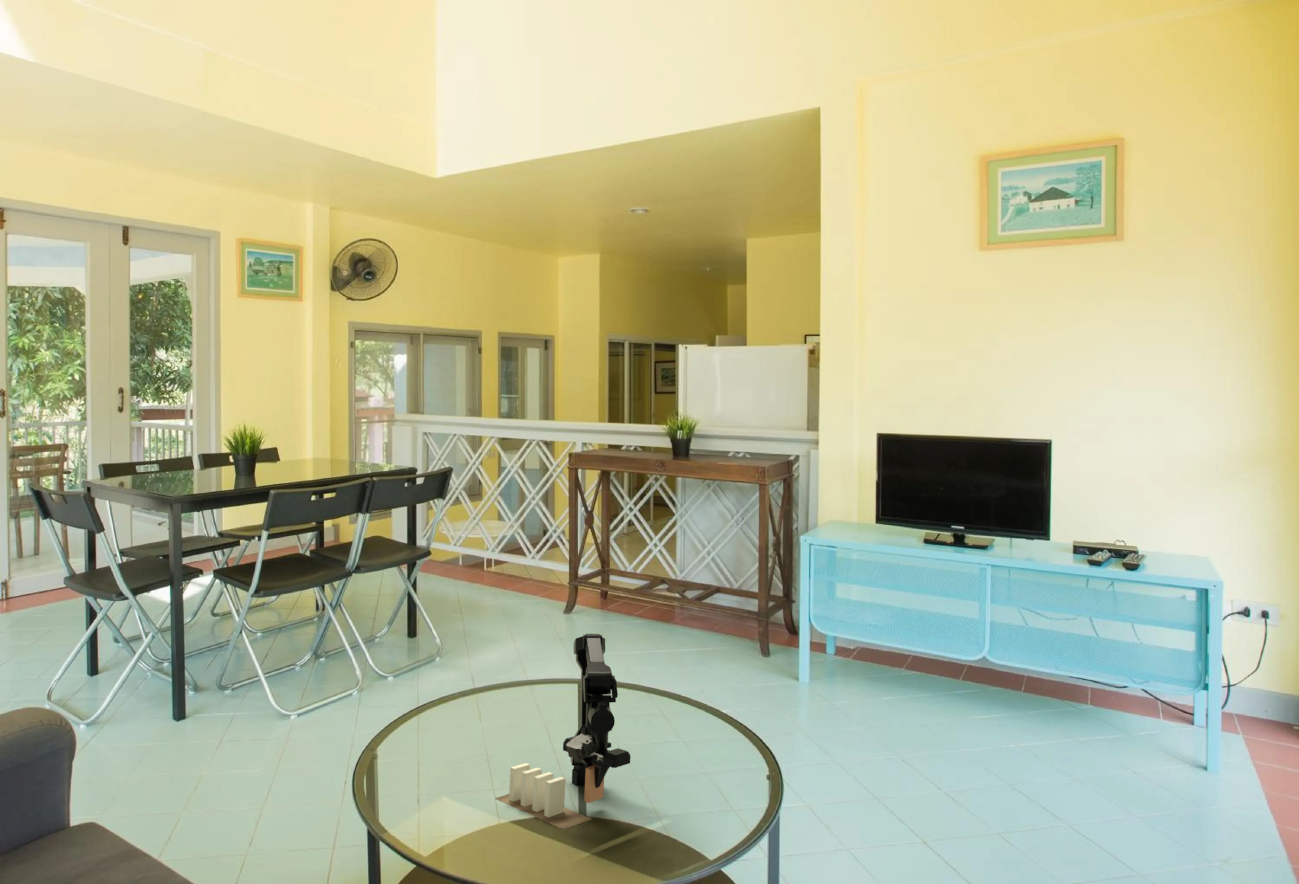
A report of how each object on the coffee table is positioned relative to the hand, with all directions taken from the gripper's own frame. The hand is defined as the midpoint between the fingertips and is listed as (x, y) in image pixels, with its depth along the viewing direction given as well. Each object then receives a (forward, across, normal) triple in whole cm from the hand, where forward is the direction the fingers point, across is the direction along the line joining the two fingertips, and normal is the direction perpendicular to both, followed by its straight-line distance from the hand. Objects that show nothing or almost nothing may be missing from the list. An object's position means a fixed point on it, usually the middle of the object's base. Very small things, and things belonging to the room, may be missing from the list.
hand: (594, 786), depth 200 cm
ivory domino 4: (+6, -5, -9) cm, 11 cm away
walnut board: (+7, -9, -9) cm, 14 cm away
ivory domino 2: (+6, -14, -9) cm, 17 cm away
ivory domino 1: (+6, -18, -9) cm, 21 cm away
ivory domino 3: (+6, -9, -9) cm, 14 cm away
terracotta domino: (+3, 0, 0) cm, 3 cm away
